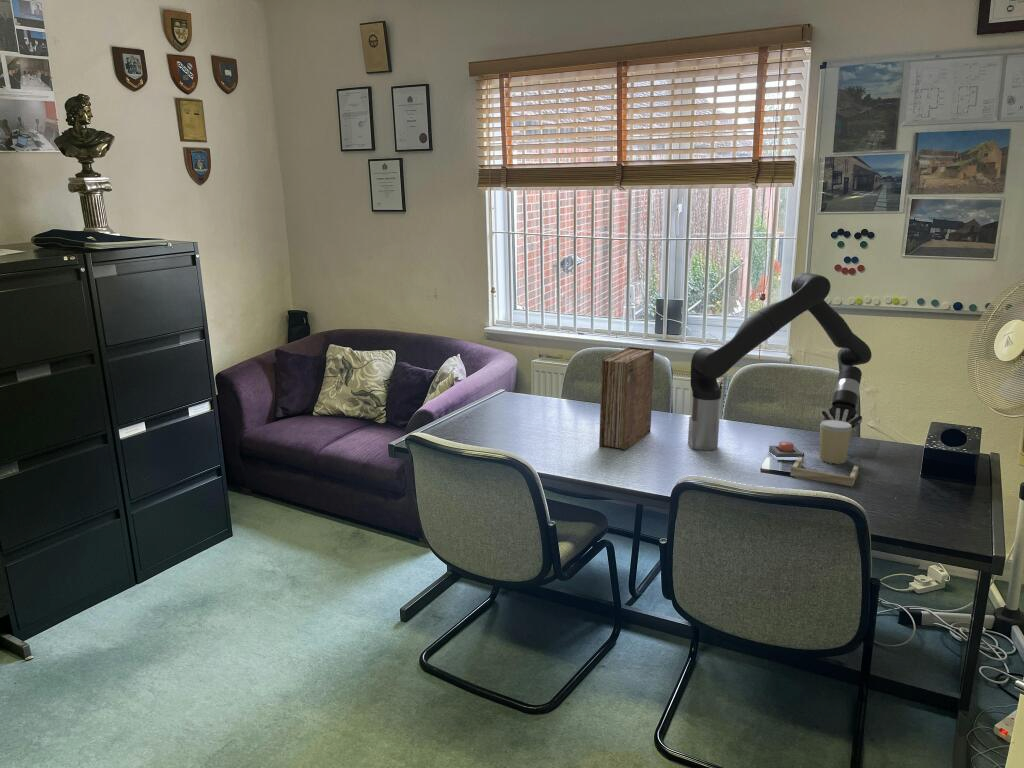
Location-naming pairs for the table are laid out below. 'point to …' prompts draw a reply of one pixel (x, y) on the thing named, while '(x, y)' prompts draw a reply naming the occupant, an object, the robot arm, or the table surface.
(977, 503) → the table surface
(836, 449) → the coffee cup
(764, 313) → the robot arm
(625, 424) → the brown plywood block
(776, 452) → the button box
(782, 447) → the button
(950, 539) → the table surface
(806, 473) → the holder
